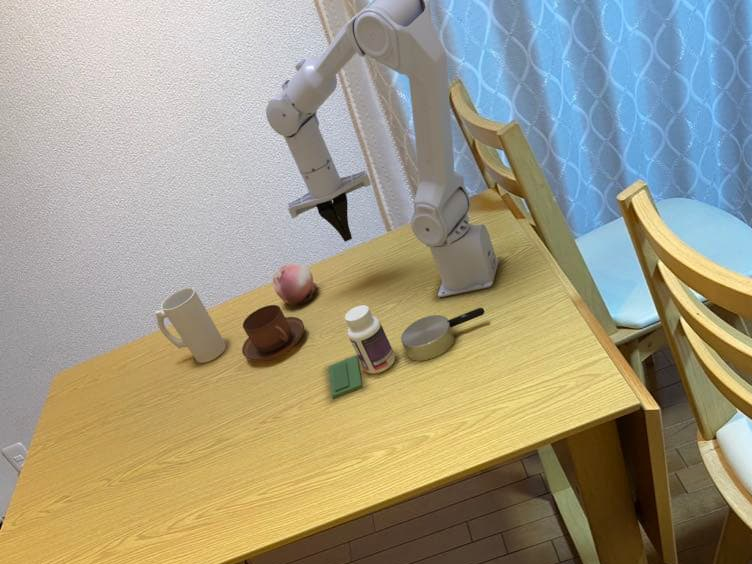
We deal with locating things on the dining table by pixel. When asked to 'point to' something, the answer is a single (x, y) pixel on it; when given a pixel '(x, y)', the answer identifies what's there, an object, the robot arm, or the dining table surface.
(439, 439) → the dining table surface
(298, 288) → the onion
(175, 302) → the mug
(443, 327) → the pan
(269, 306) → the cup and saucer
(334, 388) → the green light switch
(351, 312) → the pill bottle
